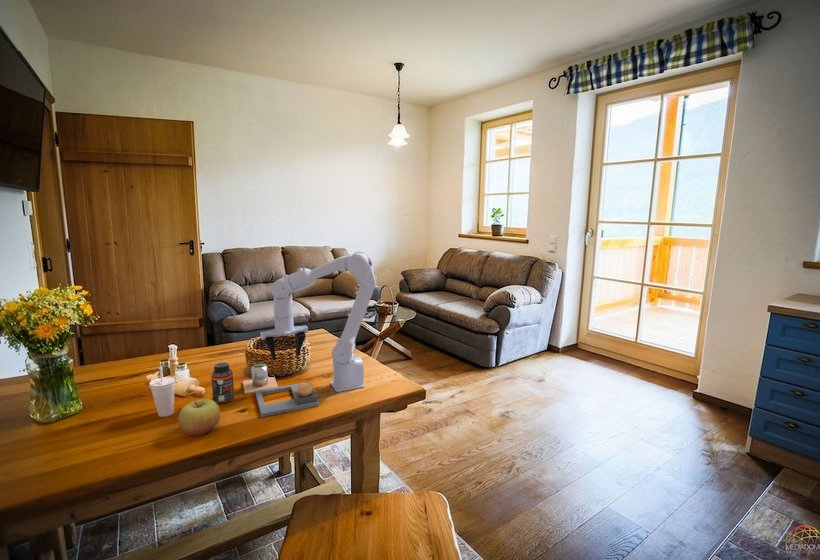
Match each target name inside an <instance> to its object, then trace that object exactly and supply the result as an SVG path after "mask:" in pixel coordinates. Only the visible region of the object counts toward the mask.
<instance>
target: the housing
mask: <svg viewBox="0 0 820 560" xmlns="http://www.w3.org/2000/svg"><path fill="white" fill-rule="evenodd" d="M302 383H308V382H307V381H304V382H299V383H294V384H287V385H282V386H278V387H276V388H270V389H265V390H259V391H255V393H254V394H255V398H256V402H257V406H258V409H259V412H260V416H261V418H265V416H266V417H269V415H271V416H275V415H274V414H276V415H280V414H279V413H281V414H284V413H283V412H286V413H289V412H290V411H291V412H294V411H299V409H300V410H303V409H310V408H314V407H313V406H315V407H319V406H320V402H319V396H318V393H317V392H316V390H315V389H314V388H313V393H312V394H310V395H309V396H304V397H302V395H299V394H298V388H297V387H298V385H300V384H302ZM287 391H291V393H292V396H293V398H291V399H287V400H282V401H281V400H280V401H276V402H272V403H271V402H270V403H265V401H264V398H263V396H264V394H265V395H270V394H269V393H271V394H274V393H275V392H276V393H281V392H287ZM276 393H275V394H276ZM309 407H310V408H309Z"/></svg>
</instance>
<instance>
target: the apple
mask: <svg viewBox="0 0 820 560" xmlns="http://www.w3.org/2000/svg"><path fill="white" fill-rule="evenodd" d="M220 420H221V410H220V406H219V404H218V403H215V402H214V401H213V399H209V398H207V399H205V398H204V399H196V400H194V401H191V402H189V403H187V404H185V405H184V406H183V407H182V408H181V410H180V411H179V413H178V416H177V422H178V426H179V429H180V430H181V431H182V432H183V433H185V434H187V435H189V436H201V435H204V434H207V433H210V432H211V431H212V430H213V429H214V428H215V427H216V426H217V425H218V423H219V422H220Z"/></svg>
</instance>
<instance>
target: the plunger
mask: <svg viewBox="0 0 820 560" xmlns="http://www.w3.org/2000/svg"><path fill="white" fill-rule="evenodd" d="M301 383H302V384H300V385H298V387H297V388H298V394H299V395H302V397H304V396H309V395H310V394H312V393H313V389H314V387H313V384H312V383H310V382H307V383H304V382H301Z"/></svg>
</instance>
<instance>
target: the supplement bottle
mask: <svg viewBox="0 0 820 560" xmlns="http://www.w3.org/2000/svg"><path fill="white" fill-rule="evenodd" d="M210 378H211V392H212V394H211V395H212V400H213V401H214V402H215V403H216V404H217V405H221V404H226V403H230V402H232V401H233V400H234V398H235V388H234V387H235V386H234V385H235V384H234V372H233V370H232V369H231V368H230V363H229V362H217V363H215V364H214V365H213V371H212V372H211V375H210Z"/></svg>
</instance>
